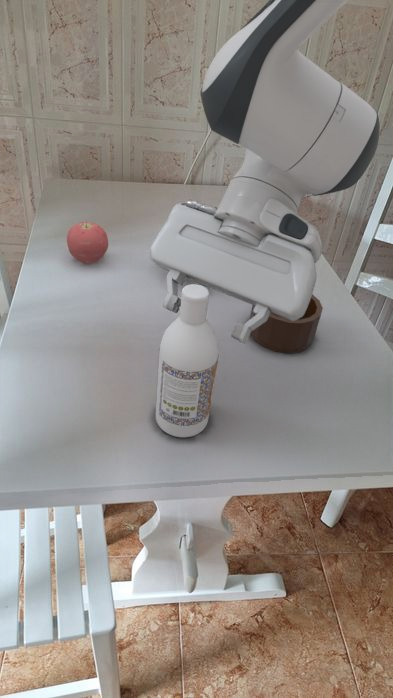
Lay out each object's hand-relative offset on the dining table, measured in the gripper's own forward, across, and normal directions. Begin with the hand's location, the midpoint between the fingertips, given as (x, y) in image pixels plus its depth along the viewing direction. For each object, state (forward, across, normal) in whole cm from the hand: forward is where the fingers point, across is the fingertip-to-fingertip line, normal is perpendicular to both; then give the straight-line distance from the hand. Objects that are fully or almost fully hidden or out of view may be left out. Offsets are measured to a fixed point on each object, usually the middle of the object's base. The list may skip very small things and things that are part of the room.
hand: (202, 324), depth 57 cm
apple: (-5, -36, +25) cm, 44 cm away
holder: (-7, +3, +26) cm, 27 cm away
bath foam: (+12, 0, +8) cm, 14 cm away
